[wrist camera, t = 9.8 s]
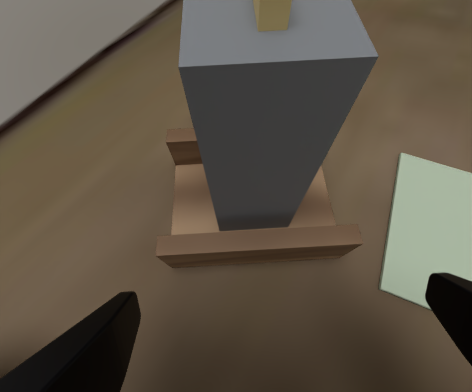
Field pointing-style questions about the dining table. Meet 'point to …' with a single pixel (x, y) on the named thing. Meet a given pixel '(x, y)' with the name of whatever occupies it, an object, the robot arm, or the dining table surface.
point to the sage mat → (427, 228)
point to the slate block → (268, 98)
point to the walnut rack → (243, 241)
